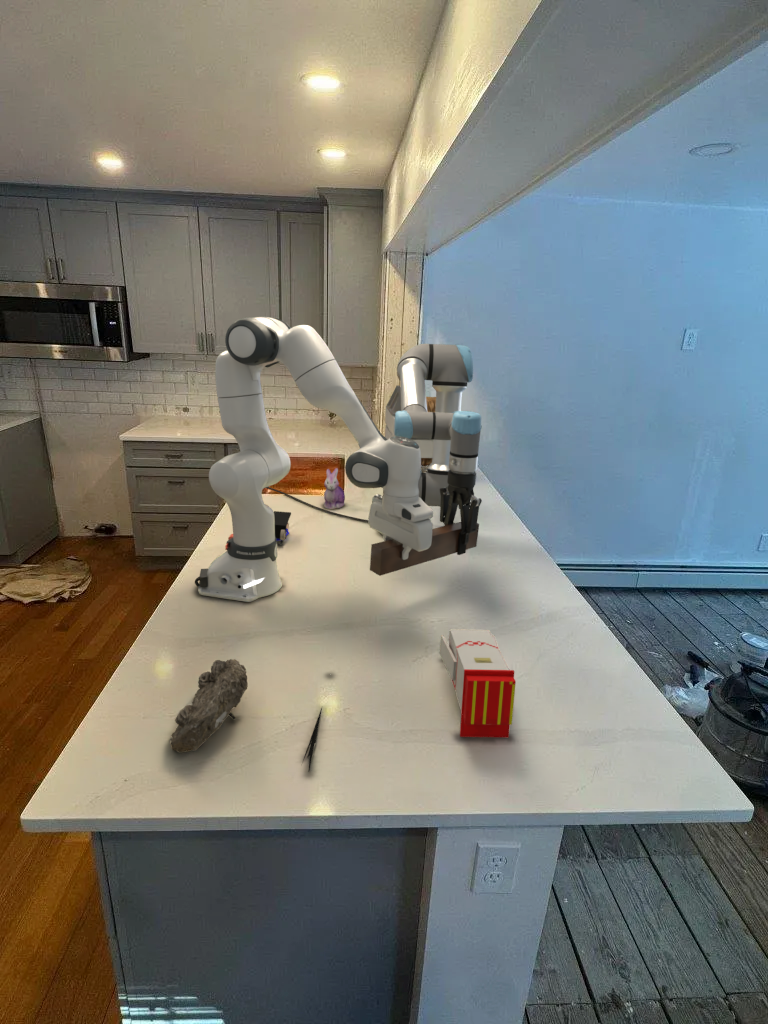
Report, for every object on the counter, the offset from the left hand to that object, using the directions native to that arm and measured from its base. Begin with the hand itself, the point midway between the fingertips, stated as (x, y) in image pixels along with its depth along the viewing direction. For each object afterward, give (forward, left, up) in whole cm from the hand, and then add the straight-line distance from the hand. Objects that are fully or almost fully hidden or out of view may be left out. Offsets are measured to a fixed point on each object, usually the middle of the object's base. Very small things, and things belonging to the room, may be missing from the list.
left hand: (396, 554), depth 144 cm
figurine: (-24, +80, -16) cm, 85 cm away
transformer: (+11, +134, -16) cm, 135 cm away
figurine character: (-39, +44, -16) cm, 61 cm away
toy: (+17, -32, -16) cm, 40 cm away
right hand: (+17, +15, -5) cm, 23 cm away
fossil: (-34, -44, -16) cm, 58 cm away
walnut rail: (+8, +7, -4) cm, 12 cm away
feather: (-14, -43, -16) cm, 48 cm away
